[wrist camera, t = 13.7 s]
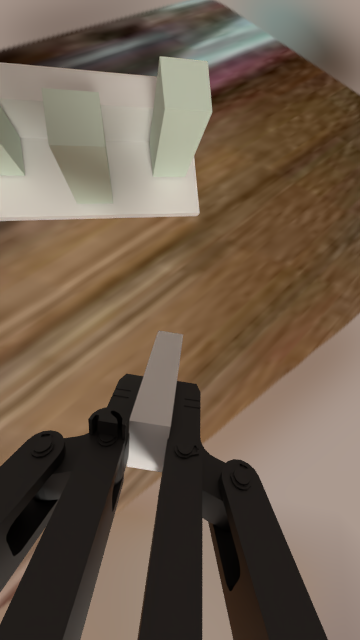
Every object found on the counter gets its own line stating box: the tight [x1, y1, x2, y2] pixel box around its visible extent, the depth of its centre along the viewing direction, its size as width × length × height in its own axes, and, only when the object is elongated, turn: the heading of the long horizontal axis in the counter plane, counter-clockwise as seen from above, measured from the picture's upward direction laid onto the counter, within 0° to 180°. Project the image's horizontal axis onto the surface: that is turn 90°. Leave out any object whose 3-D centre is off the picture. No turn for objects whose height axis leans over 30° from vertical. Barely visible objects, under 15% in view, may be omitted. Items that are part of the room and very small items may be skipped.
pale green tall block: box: [149, 56, 212, 177], centre depth 25 cm, size 4×4×10 cm
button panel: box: [0, 64, 199, 221], centre depth 26 cm, size 25×12×6 cm, turn 96°
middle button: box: [41, 88, 113, 204], centre depth 23 cm, size 4×4×10 cm
